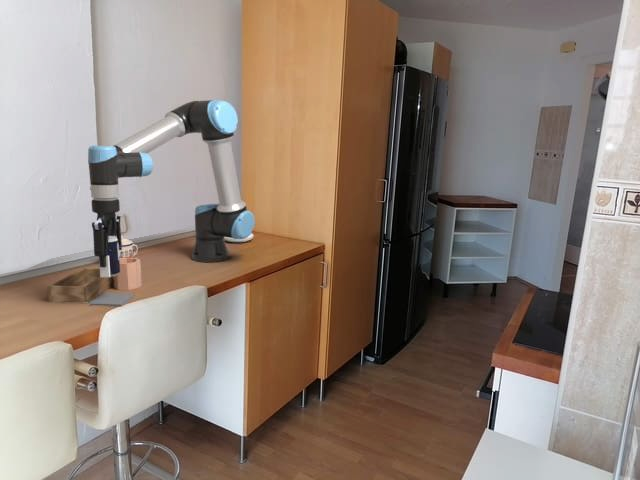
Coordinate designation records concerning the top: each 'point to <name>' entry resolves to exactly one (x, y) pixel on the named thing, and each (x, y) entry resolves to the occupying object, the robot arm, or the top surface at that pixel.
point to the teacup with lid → (127, 249)
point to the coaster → (112, 299)
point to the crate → (72, 292)
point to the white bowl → (239, 239)
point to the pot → (128, 274)
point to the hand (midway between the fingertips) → (110, 273)
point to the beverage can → (113, 255)
